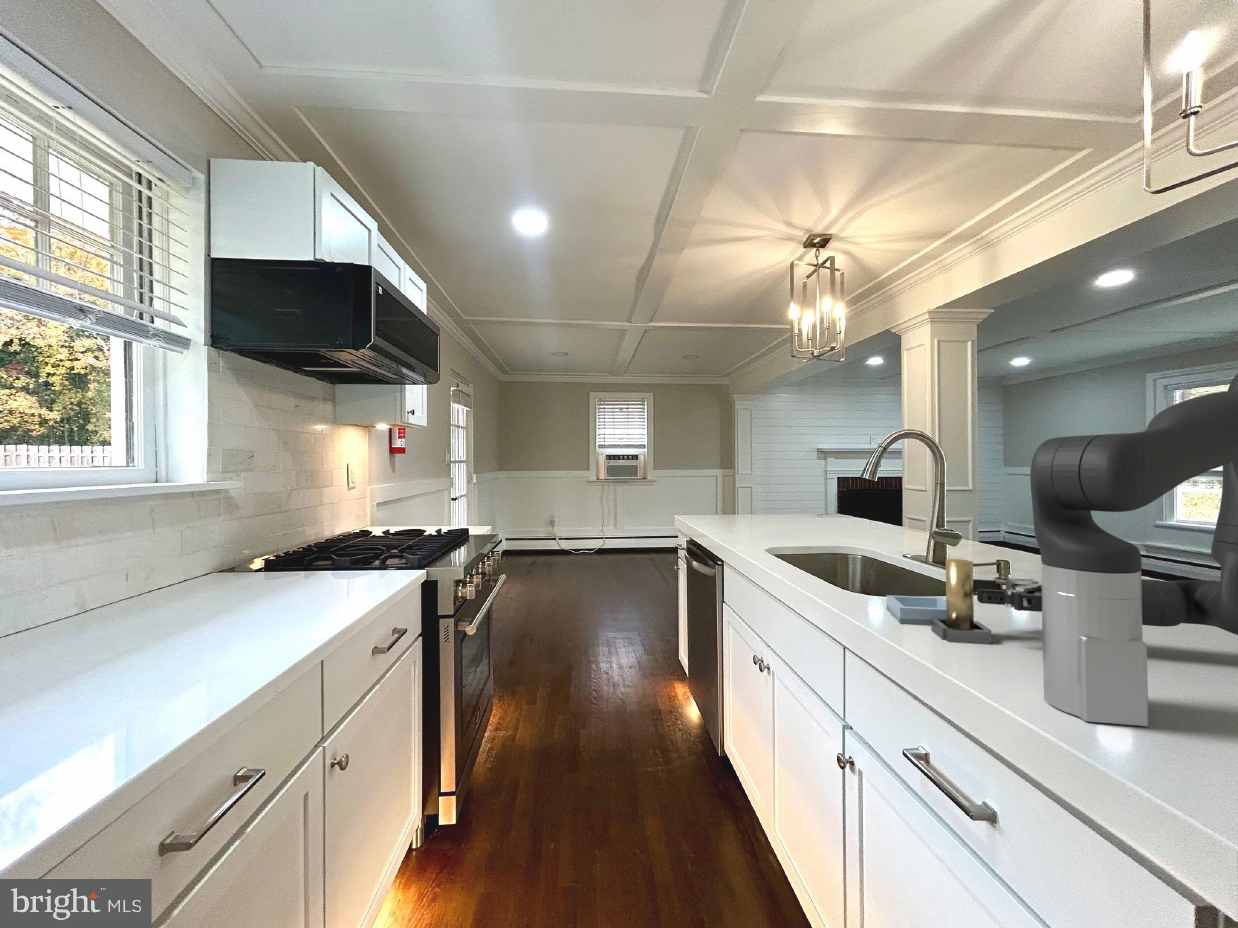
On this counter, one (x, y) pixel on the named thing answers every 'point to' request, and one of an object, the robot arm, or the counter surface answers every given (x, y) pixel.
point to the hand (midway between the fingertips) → (972, 590)
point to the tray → (916, 609)
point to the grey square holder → (961, 632)
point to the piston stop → (959, 594)
